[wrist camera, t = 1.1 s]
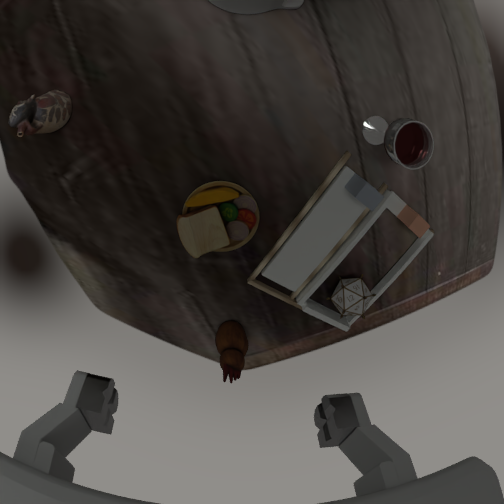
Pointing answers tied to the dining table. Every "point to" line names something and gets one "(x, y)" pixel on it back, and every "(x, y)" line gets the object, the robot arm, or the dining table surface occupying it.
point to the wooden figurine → (231, 349)
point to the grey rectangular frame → (389, 202)
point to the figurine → (41, 113)
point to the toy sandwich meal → (217, 218)
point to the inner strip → (322, 229)
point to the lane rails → (292, 226)
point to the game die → (351, 296)
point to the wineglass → (401, 140)
